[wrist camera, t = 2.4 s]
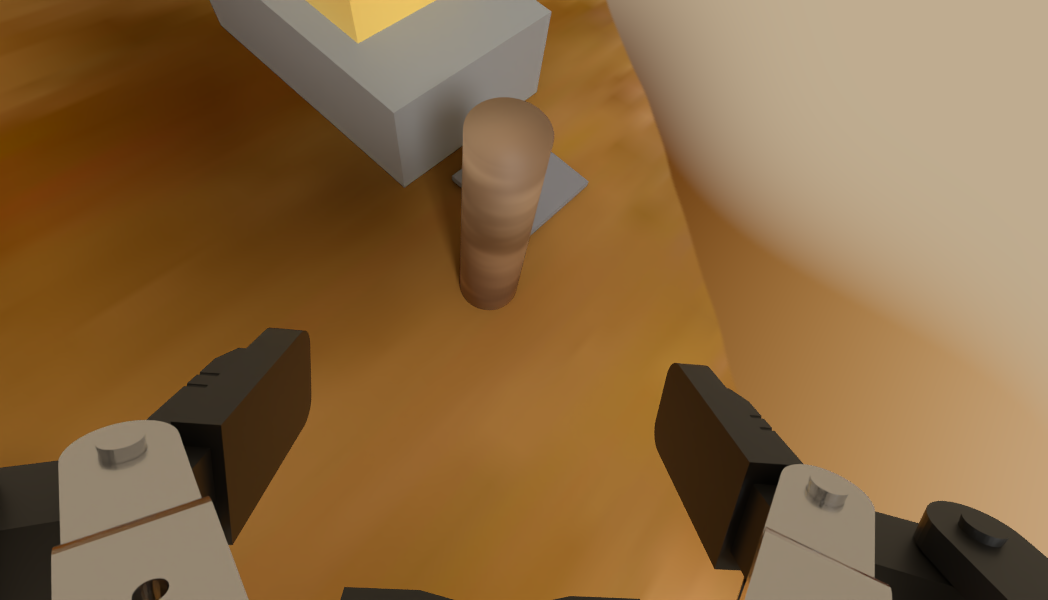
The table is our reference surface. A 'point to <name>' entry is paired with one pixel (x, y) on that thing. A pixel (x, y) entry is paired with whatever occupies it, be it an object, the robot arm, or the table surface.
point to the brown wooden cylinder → (500, 195)
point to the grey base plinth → (396, 65)
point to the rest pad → (551, 189)
